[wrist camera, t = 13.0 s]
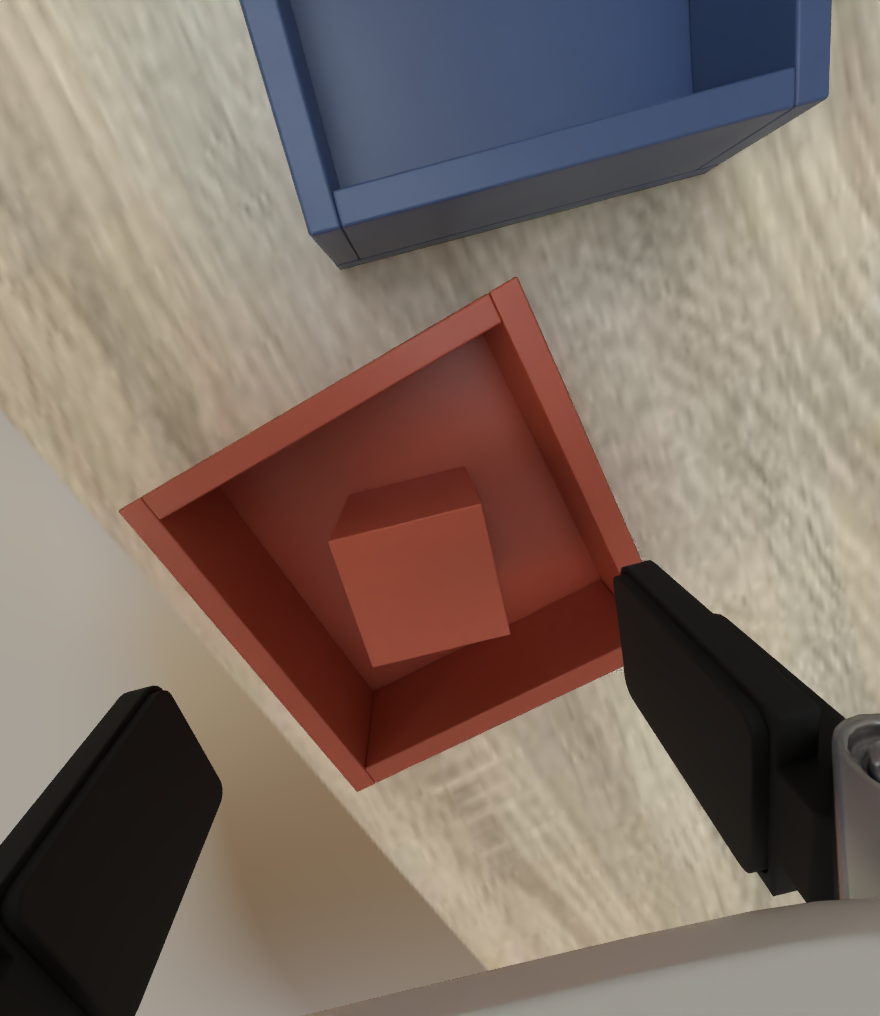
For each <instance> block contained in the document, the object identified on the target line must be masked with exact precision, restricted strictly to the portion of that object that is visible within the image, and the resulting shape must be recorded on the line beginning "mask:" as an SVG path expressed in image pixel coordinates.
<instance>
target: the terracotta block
mask: <svg viewBox="0 0 880 1016" xmlns="http://www.w3.org/2000/svg"><path fill="white" fill-rule="evenodd" d="M328 543H329V546H330V549H331V551H332V554H333V557H334V560H335V563H336V566H337V568H338V571H339V574H340V577H341V580H342V582H343V585H344V588H345V591H346V594H347V596H348V599H349V602H350V605H351V608H352V611H353V613H354V616H355V619H356V622H357V625H358V627H359V630H360V633H361V636H362V639H363V642H364V644H365V647H366V650H367V653H368V656H369V658H370V661H371V664H372V666H373V667H377V666H381V665H385V664H390V663H394V662H398V661H402V660H406V659H410V658H414V657H419V656H423V655H427V654H431V653H435V652H439V651H443V650H448V649H452V648H456V647H460V646H464V645H468V644H473V643H477V642H481V641H485V640H489V639H493V638H497V637H502V636H506V635H509V634H510V628H509V624H508V619H507V615H506V610H505V606H504V602H503V597H502V593H501V588H500V584H499V579H498V575H497V570H496V566H495V562H494V557H493V553H492V548H491V544H490V539H489V535H488V530H487V526H486V522H485V517H484V513H483V508H482V504H481V502H480V500H479V497H478V495H477V493H476V491H475V489H474V486H473V484H472V482H471V480H470V477H469V475H468V473H467V471H466V469H465V467H464V466H462V467H458V468H454V469H450V470H446V471H442V472H438V473H434V474H430V475H426V476H422V477H418V478H414V479H410V480H406V481H402V482H398V483H394V484H390V485H387V486H383V487H379V488H375V489H371V490H367V491H363V492H359V493H355V494H351V495H349V496H348V498H347V501H346V503H345V505H344V507H343V510H342V512H341V514H340V516H339V519H338V521H337V523H336V525H335V528H334V530H333V532H332V534H331V537H330V539H329V541H328Z"/></svg>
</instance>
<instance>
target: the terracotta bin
mask: <svg viewBox="0 0 880 1016" xmlns="http://www.w3.org/2000/svg"><path fill="white" fill-rule="evenodd" d="M462 466H464V467H465V469H466V471H467V473H468V475H469V477H470V480H471V482H472V484H473V486H474V489H475V491H476V493H477V495H478V497H479V500H480V502H481V504H482V508H483V513H484V517H485V522H486V526H487V530H488V535H489V539H490V544H491V548H492V553H493V557H494V562H495V566H496V570H497V575H498V579H499V584H500V588H501V593H502V597H503V602H504V606H505V610H506V615H507V619H508V624H509V628H510V634H509V635H506V636H502V637H497V638H493V639H489V640H485V641H481V642H477V643H473V644H468V645H464V646H460V647H456V648H452V649H448V650H443V651H439V652H435V653H431V654H427V655H423V656H419V657H414V658H410V659H406V660H402V661H398V662H394V663H390V664H385V665H381V666H377V667H373V666H372V664H371V661H370V658H369V656H368V653H367V650H366V647H365V644H364V642H363V639H362V636H361V633H360V630H359V627H358V625H357V622H356V619H355V616H354V613H353V611H352V608H351V605H350V602H349V599H348V596H347V594H346V591H345V588H344V585H343V582H342V580H341V577H340V574H339V571H338V568H337V566H336V563H335V560H334V557H333V554H332V551H331V549H330V546H329V543H328V541H329V539H330V537H331V534H332V532H333V530H334V528H335V525H336V523H337V521H338V519H339V516H340V514H341V512H342V510H343V507H344V505H345V503H346V501H347V498H348V496H349V495H351V494H355V493H359V492H363V491H367V490H371V489H375V488H379V487H383V486H387V485H390V484H394V483H398V482H402V481H406V480H410V479H414V478H418V477H422V476H426V475H430V474H434V473H438V472H442V471H446V470H450V469H454V468H458V467H462ZM119 513H120V514H121V515H122V516H123V517H124V519H125V520H126V521H127V522H128V523H129V524H130V526H131V527H132V528H133V529H134V530H135V531H136V533H137V534H138V535H139V536H140V537H141V538H142V540H143V541H144V542H145V543H146V544H147V546H148V547H149V548H150V549H151V550H152V551H153V553H154V554H155V555H156V556H157V557H158V558H159V560H160V561H161V562H162V563H163V564H164V565H165V567H166V568H167V569H168V570H169V571H170V573H171V574H172V575H173V576H174V577H175V578H176V580H177V581H178V582H179V583H180V584H181V585H182V587H183V588H184V589H185V590H186V591H187V592H188V594H189V595H190V596H191V597H192V598H193V600H194V601H195V602H196V603H197V604H198V605H199V607H200V608H201V609H202V610H203V611H204V612H205V614H206V615H207V616H208V617H209V618H210V619H211V621H212V622H213V623H214V624H215V625H216V627H217V628H218V629H219V630H220V631H221V632H222V634H223V635H224V636H225V637H226V638H227V639H228V641H229V642H230V643H231V644H232V645H233V646H234V648H235V649H236V650H237V651H238V652H239V654H240V655H241V656H242V657H243V658H244V659H245V661H246V662H247V663H248V664H249V665H250V666H251V668H252V669H253V670H254V671H255V672H256V673H257V675H258V676H259V677H260V678H261V679H262V681H263V682H264V683H265V684H266V685H267V686H268V688H269V689H270V690H271V691H272V692H273V693H274V695H275V696H276V697H277V698H278V699H279V700H280V702H281V703H282V704H283V705H284V706H285V708H286V709H287V710H288V711H289V712H290V713H291V715H292V716H293V717H294V718H295V719H296V720H297V722H298V723H299V724H300V725H301V726H302V727H303V729H304V730H305V731H306V732H307V733H308V735H309V736H310V737H311V738H312V739H313V740H314V742H315V743H316V744H317V745H318V746H319V747H320V749H321V750H322V751H323V752H324V753H325V754H326V756H327V757H328V758H329V759H330V760H331V762H332V763H333V764H334V765H335V766H336V767H337V769H338V770H339V771H340V772H341V773H342V774H343V776H344V777H345V778H346V779H347V780H348V781H349V783H350V784H351V785H352V786H353V787H354V789H355V790H356V791H357V792H358V791H360V790H362V789H365V788H367V787H369V786H371V785H373V784H375V782H379V781H381V780H383V779H385V778H387V777H389V776H392V775H394V774H396V773H398V772H400V771H402V770H404V769H406V768H408V767H411V766H413V765H415V764H417V763H419V762H421V761H423V760H425V759H428V758H430V757H432V756H434V755H436V754H438V753H440V752H442V751H445V750H447V749H449V748H451V747H453V746H455V745H457V744H459V743H462V742H464V741H466V740H468V739H470V738H472V737H474V736H476V735H479V734H481V733H483V732H485V731H487V730H489V729H491V728H493V727H495V726H498V725H500V724H502V723H504V722H506V721H508V720H510V719H512V718H515V717H517V716H519V715H521V714H523V713H525V712H527V711H529V710H532V709H534V708H536V707H538V706H540V705H542V704H544V703H546V702H549V701H551V700H553V699H555V698H557V697H559V696H561V695H563V694H566V693H568V692H570V691H572V690H574V689H576V688H578V687H580V686H583V685H585V684H587V683H589V682H591V681H593V680H595V679H597V678H599V677H602V676H604V675H606V674H608V673H610V672H612V671H614V670H616V669H619V668H621V667H623V666H624V665H623V657H622V649H621V641H620V633H619V625H618V617H617V609H616V601H615V593H614V585H613V579H614V577H615V576H618V575H620V571H621V568H622V567H624V566H628V565H632V564H636V563H640V562H642V560H641V558H640V556H639V554H638V551H637V549H636V547H635V544H634V542H633V540H632V538H631V535H630V533H629V531H628V528H627V526H626V524H625V522H624V519H623V517H622V515H621V512H620V510H619V508H618V506H617V503H616V501H615V499H614V496H613V494H612V492H611V490H610V487H609V485H608V483H607V480H606V478H605V476H604V474H603V471H602V469H601V467H600V464H599V462H598V460H597V458H596V455H595V453H594V451H593V448H592V446H591V444H590V442H589V439H588V437H587V435H586V432H585V430H584V428H583V426H582V423H581V421H580V419H579V416H578V414H577V412H576V410H575V407H574V405H573V403H572V400H571V398H570V396H569V394H568V391H567V389H566V387H565V384H564V382H563V380H562V378H561V375H560V373H559V371H558V368H557V366H556V364H555V362H554V359H553V357H552V355H551V352H550V350H549V348H548V346H547V343H546V341H545V339H544V336H543V334H542V332H541V330H540V327H539V325H538V323H537V320H536V318H535V316H534V314H533V311H532V309H531V307H530V305H529V302H528V300H527V298H526V295H525V293H524V291H523V289H522V286H521V284H520V282H519V279H518V278H517V277H514V278H513V279H511V280H509V281H508V282H506V283H504V284H502V285H501V286H499V287H497V288H496V289H494V290H492V291H491V292H489V293H488V294H485V295H484V296H482V297H480V298H479V299H477V300H475V301H474V302H472V303H470V304H468V305H467V306H465V307H463V308H462V309H460V310H458V311H457V312H455V313H453V314H451V315H450V316H448V317H446V318H445V319H443V320H441V321H440V322H438V323H436V324H434V325H433V326H431V327H429V328H428V329H426V330H424V331H423V332H421V333H419V334H417V335H416V336H414V337H412V338H411V339H409V340H407V341H406V342H404V343H402V344H400V345H399V346H397V347H395V348H394V349H392V350H390V351H389V352H387V353H385V354H384V355H382V356H380V357H378V358H377V359H375V360H373V361H372V362H370V363H368V364H367V365H365V366H363V367H361V368H360V369H358V370H356V371H355V372H353V373H351V374H350V375H348V376H346V377H344V378H343V379H341V380H339V381H338V382H336V383H334V384H333V385H331V386H329V387H327V388H326V389H324V390H322V391H321V392H319V393H317V394H316V395H314V396H312V397H310V398H309V399H307V400H305V401H304V402H302V403H300V404H299V405H297V406H295V407H293V408H292V409H290V410H288V411H287V412H285V413H283V414H282V415H280V416H278V417H276V418H275V419H273V420H271V421H270V422H268V423H266V424H265V425H263V426H261V427H259V428H258V429H256V430H254V431H253V432H251V433H249V434H248V435H246V436H244V437H242V438H241V439H239V440H237V441H236V442H234V443H232V444H231V445H229V446H227V447H225V448H224V449H222V450H220V451H219V452H217V453H215V454H214V455H212V456H210V457H209V458H207V459H205V460H203V461H202V462H200V463H198V464H197V465H195V466H193V467H192V468H190V469H188V470H186V471H185V472H183V473H181V474H180V475H178V476H176V477H175V478H173V479H171V480H169V481H168V482H166V483H164V484H163V485H161V486H159V487H158V488H156V489H154V490H152V491H151V492H149V493H147V494H146V495H144V496H142V497H141V498H139V499H137V500H135V501H134V502H132V503H130V504H129V505H127V506H125V507H124V508H122V509H120V510H119Z"/></svg>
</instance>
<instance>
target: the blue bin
mask: <svg viewBox="0 0 880 1016" xmlns="http://www.w3.org/2000/svg"><path fill="white" fill-rule="evenodd" d="M239 1H240V4H241V7H242V11H243V14H244V17H245V21H246V24H247V27H248V31H249V34H250V38H251V41H252V44H253V48H254V51H255V54H256V58H257V61H258V64H259V68H260V71H261V74H262V78H263V81H264V85H265V88H266V91H267V95H268V98H269V101H270V105H271V108H272V111H273V115H274V118H275V122H276V125H277V128H278V132H279V135H280V138H281V142H282V145H283V148H284V152H285V155H286V158H287V162H288V165H289V169H290V172H291V175H292V179H293V182H294V185H295V189H296V192H297V195H298V199H299V202H300V205H301V209H302V212H303V216H304V219H305V222H306V226H307V229H308V232H309V234H310V236H311V237H312V238H313V239H314V240H315V242H316V243H317V244H318V245H319V246H320V247H321V248H322V249H323V251H324V252H325V253H326V254H327V255H328V256H329V257H330V258H331V260H332V261H333V262H334V263H335V264H336V266H337V267H338V268H339V269H345V268H349V267H352V266H356V265H360V264H364V263H367V262H371V261H375V260H379V259H383V258H386V257H390V256H394V255H398V254H401V253H405V252H409V251H413V250H417V249H420V248H424V247H428V246H432V245H435V244H439V243H443V242H447V241H450V240H454V239H458V238H462V237H466V236H469V235H473V234H477V233H481V232H484V231H488V230H492V229H496V228H500V227H503V226H507V225H511V224H515V223H518V222H522V221H526V220H530V219H534V218H537V217H541V216H545V215H549V214H552V213H556V212H560V211H564V210H568V209H571V208H575V207H579V206H583V205H586V204H590V203H594V202H598V201H602V200H605V199H609V198H613V197H617V196H620V195H624V194H628V193H632V192H635V191H639V190H643V189H647V188H651V187H654V186H658V185H662V184H666V183H669V182H673V181H677V180H681V179H685V178H688V177H692V176H696V175H700V174H703V173H706V172H708V171H709V170H711V169H712V168H714V167H716V166H717V165H719V164H720V163H722V162H724V161H725V160H727V159H729V158H730V157H732V156H733V155H735V154H737V153H738V152H740V151H742V150H743V149H745V148H746V147H748V146H750V145H751V144H753V143H755V142H756V141H758V140H760V139H761V138H763V137H764V136H766V135H768V134H769V133H771V132H773V131H774V130H776V129H778V128H779V127H781V126H782V125H784V124H786V123H787V122H789V121H791V120H792V119H794V118H796V117H797V116H799V115H800V114H802V113H804V112H805V111H807V110H809V109H810V108H812V107H814V106H815V105H817V104H818V103H820V102H822V101H823V100H825V99H826V98H827V97H828V94H829V65H830V35H831V5H832V0H239Z"/></svg>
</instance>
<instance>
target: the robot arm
mask: <svg viewBox="0 0 880 1016" xmlns="http://www.w3.org/2000/svg"><path fill="white" fill-rule="evenodd" d="M613 585H614V593H615V601H616V609H617V617H618V625H619V633H620V641H621V649H622V657H623V665H624V673H625V680H626V685H627V688H628V691H629V693H630V695H631V697H632V699H633V700H634V702H635V704H636V705H637V707H638V708H639V710H640V711H641V713H642V714H643V716H644V717H645V719H646V721H647V722H648V724H649V725H650V727H651V728H652V730H653V731H654V733H655V734H656V736H657V738H658V739H659V741H660V742H661V744H662V745H663V747H664V748H665V750H666V751H667V753H668V755H669V756H670V758H671V759H672V761H673V762H674V764H675V765H676V767H677V768H678V770H679V772H680V773H681V775H682V776H683V778H684V779H685V781H686V782H687V784H688V785H689V787H690V789H691V790H692V792H693V793H694V795H695V796H696V798H697V799H698V801H699V802H700V804H701V806H702V807H703V809H704V810H705V812H706V813H707V815H708V816H709V818H710V819H711V821H712V823H713V824H714V826H715V827H716V829H717V830H718V832H719V833H720V835H721V836H722V838H723V840H724V841H725V843H726V844H727V846H728V847H729V849H730V850H731V852H732V853H733V855H734V857H735V858H736V860H737V861H738V862H739V864H740V865H741V867H742V868H743V869H744V870H745V871H746V872H748V873H753V872H757V873H758V874H759V876H760V877H761V879H762V880H763V882H764V883H765V885H766V886H767V888H768V889H769V891H770V892H771V894H772V895H773V896H776V895H780V894H785V893H789V892H793V891H797V890H798V892H799V893H800V895H801V896H802V897H803V899H804V900H805V901H806V903H803V904H796V905H789V906H783V907H776V908H770V909H763V910H757V911H751V912H746V913H741V914H737V915H732V916H727V917H723V918H718V919H713V920H709V921H704V922H699V923H695V924H690V925H685V926H681V927H676V928H671V929H667V930H662V931H657V932H653V933H648V934H643V935H639V936H634V937H629V938H625V939H621V940H616V941H612V942H608V943H604V944H600V945H595V946H591V947H587V948H583V949H578V950H574V951H570V952H566V953H562V954H557V955H553V956H549V957H545V958H541V959H536V960H532V961H528V962H524V963H519V964H515V965H511V966H507V967H503V968H498V969H494V970H490V971H486V972H482V973H477V974H473V975H469V976H465V977H460V978H456V979H452V980H448V981H444V982H440V983H435V984H431V985H427V986H423V987H419V988H415V989H410V990H406V991H402V992H398V993H394V994H390V995H386V996H382V997H378V998H373V999H369V1000H366V1001H361V1002H357V1003H353V1004H349V1005H345V1006H340V1007H336V1008H333V1009H329V1010H324V1011H320V1012H316V1013H312V1014H308V1015H304V1016H880V714H861V715H856V716H853V717H850V718H847V719H845V718H844V717H843V716H842V715H841V714H839V713H838V712H837V711H836V710H835V709H833V708H832V707H831V706H830V705H829V704H828V703H826V702H825V701H824V700H823V699H822V698H820V697H819V696H818V695H817V694H816V693H815V692H813V691H812V690H811V689H810V688H809V687H807V686H806V685H805V684H804V683H803V682H802V681H800V680H799V679H798V678H797V677H796V676H794V675H793V674H792V673H791V672H790V671H788V670H787V669H786V668H785V667H784V666H783V665H781V664H780V663H779V662H778V661H777V660H775V659H774V658H773V657H772V656H771V655H770V654H768V653H767V652H766V651H765V650H764V649H762V648H761V647H760V646H759V645H758V644H757V643H755V642H754V641H753V640H752V639H751V638H749V637H748V636H747V635H746V634H745V633H744V632H742V631H741V630H740V629H739V628H738V627H736V626H735V625H734V624H733V623H732V622H731V621H729V620H728V619H727V618H725V617H724V616H722V615H720V614H713V613H712V612H711V611H710V610H708V609H707V608H706V607H705V606H704V605H703V604H701V603H700V602H699V601H698V600H697V599H696V598H695V597H693V596H692V595H691V594H690V593H689V592H688V591H686V590H685V589H684V588H683V587H682V586H681V585H680V584H678V583H677V582H676V581H675V580H674V579H673V578H671V577H670V576H669V575H668V574H667V573H666V572H665V571H663V570H662V569H661V568H660V567H659V566H658V565H657V564H655V563H654V562H653V561H651V560H648V561H644V562H640V563H636V564H632V565H628V566H624V567H622V568H621V571H620V575H618V576H615V577H614V579H613ZM221 799H222V784H221V781H220V779H219V777H218V776H217V774H216V772H215V770H214V769H213V767H212V765H211V763H210V762H209V760H208V758H207V756H206V755H205V753H204V751H203V750H202V747H201V746H200V744H199V742H198V740H197V739H196V737H195V735H194V734H193V732H192V730H191V728H190V726H189V725H188V723H187V721H186V719H185V718H184V716H183V714H182V712H181V711H180V709H179V707H178V705H177V704H176V702H175V700H174V698H173V697H172V695H171V694H170V693H169V692H168V691H164V690H162V688H160V687H158V686H150V687H146V688H142V689H138V690H134V691H130V692H127V693H124V694H123V695H122V696H121V697H119V699H118V700H117V701H116V702H115V704H114V705H113V706H112V707H111V709H110V710H109V711H108V712H107V713H106V715H105V716H104V717H103V718H102V720H101V721H100V722H99V723H98V725H97V726H96V727H95V728H94V730H93V731H92V732H91V733H90V735H89V736H88V737H87V738H86V740H85V741H84V742H83V743H82V745H81V746H80V747H79V748H78V749H77V751H76V752H75V753H74V754H73V756H72V757H71V758H70V759H69V761H68V762H67V763H66V764H65V766H64V767H63V768H62V769H61V771H60V772H59V773H58V774H57V775H56V777H55V778H54V779H53V780H52V782H51V783H50V784H49V785H48V787H47V788H46V789H45V790H44V792H43V793H42V794H41V795H40V797H39V798H38V799H37V800H36V802H35V803H34V804H33V805H32V806H31V808H30V809H29V810H28V811H27V813H26V814H25V815H24V816H23V818H22V819H21V820H20V821H19V823H18V824H17V825H16V826H15V828H14V829H13V830H12V831H11V833H10V834H9V835H8V836H7V838H6V839H5V840H4V842H2V844H1V845H0V1016H135V1014H136V1012H137V1010H138V1008H139V1005H140V1003H141V1000H142V998H143V995H144V993H145V990H146V988H147V985H148V983H149V980H150V978H151V975H152V973H153V970H154V968H155V965H156V963H157V960H158V958H159V955H160V953H161V950H162V948H163V945H164V943H165V940H166V938H167V935H168V933H169V930H170V928H171V925H172V923H173V920H174V918H175V915H176V913H177V910H178V908H179V905H180V903H181V900H182V898H183V895H184V893H185V890H186V888H187V885H188V883H189V880H190V878H191V875H192V873H193V870H194V868H195V865H196V863H197V860H198V857H199V855H200V853H201V850H202V848H203V845H204V843H205V840H206V838H207V835H208V832H209V830H210V828H211V825H212V823H213V820H214V818H215V815H216V812H217V810H218V808H219V805H220V803H221Z"/></svg>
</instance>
